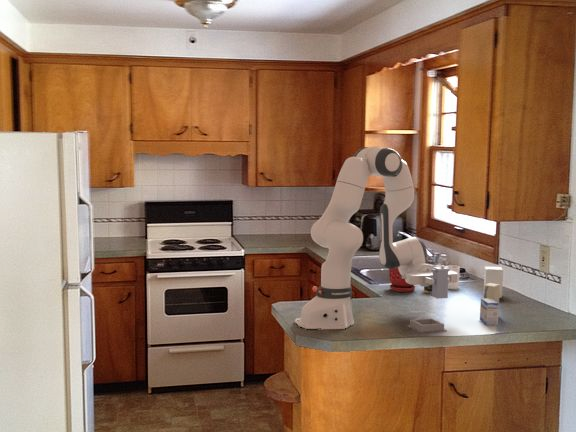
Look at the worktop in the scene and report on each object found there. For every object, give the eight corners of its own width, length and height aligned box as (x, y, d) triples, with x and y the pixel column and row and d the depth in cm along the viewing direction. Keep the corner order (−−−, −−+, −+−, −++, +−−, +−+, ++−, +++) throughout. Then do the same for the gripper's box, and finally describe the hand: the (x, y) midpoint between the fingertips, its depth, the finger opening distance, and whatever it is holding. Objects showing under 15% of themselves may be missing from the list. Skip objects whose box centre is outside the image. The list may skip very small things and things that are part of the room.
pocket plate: (419, 333, 255) (419, 326, 255) (406, 325, 265) (406, 319, 265) (447, 331, 258) (447, 324, 258) (433, 323, 268) (433, 317, 268)
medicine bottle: (423, 292, 322) (424, 266, 321) (426, 289, 329) (426, 263, 328) (439, 293, 320) (440, 267, 319) (441, 290, 327) (442, 264, 326)
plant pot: (411, 294, 318) (412, 268, 317) (384, 291, 325) (384, 265, 323) (421, 289, 329) (422, 263, 328) (395, 286, 336) (395, 261, 335)
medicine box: (479, 320, 273) (480, 298, 272) (490, 320, 274) (491, 298, 273) (486, 325, 266) (487, 303, 265) (498, 325, 266) (499, 302, 265)
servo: (434, 298, 262) (435, 266, 261) (429, 296, 266) (430, 264, 265) (450, 297, 264) (451, 265, 263) (444, 295, 268) (445, 263, 267)
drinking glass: (460, 287, 333) (461, 266, 332) (457, 289, 327) (458, 268, 326) (446, 285, 336) (446, 265, 335) (443, 288, 330) (443, 267, 329)
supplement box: (502, 298, 311) (503, 269, 310) (484, 297, 312) (485, 269, 311) (500, 294, 318) (501, 266, 317) (483, 293, 320) (484, 266, 318)
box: (488, 314, 282) (489, 282, 281) (499, 316, 280) (500, 284, 278) (482, 316, 278) (483, 284, 277) (493, 318, 276) (494, 286, 274)
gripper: (399, 267, 273) (416, 274, 260) (447, 265, 279) (465, 271, 266) (399, 284, 274) (415, 291, 261) (446, 281, 280) (465, 288, 267)
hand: (441, 281), depth 264 cm, fingers closed on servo, 4 cm apart
